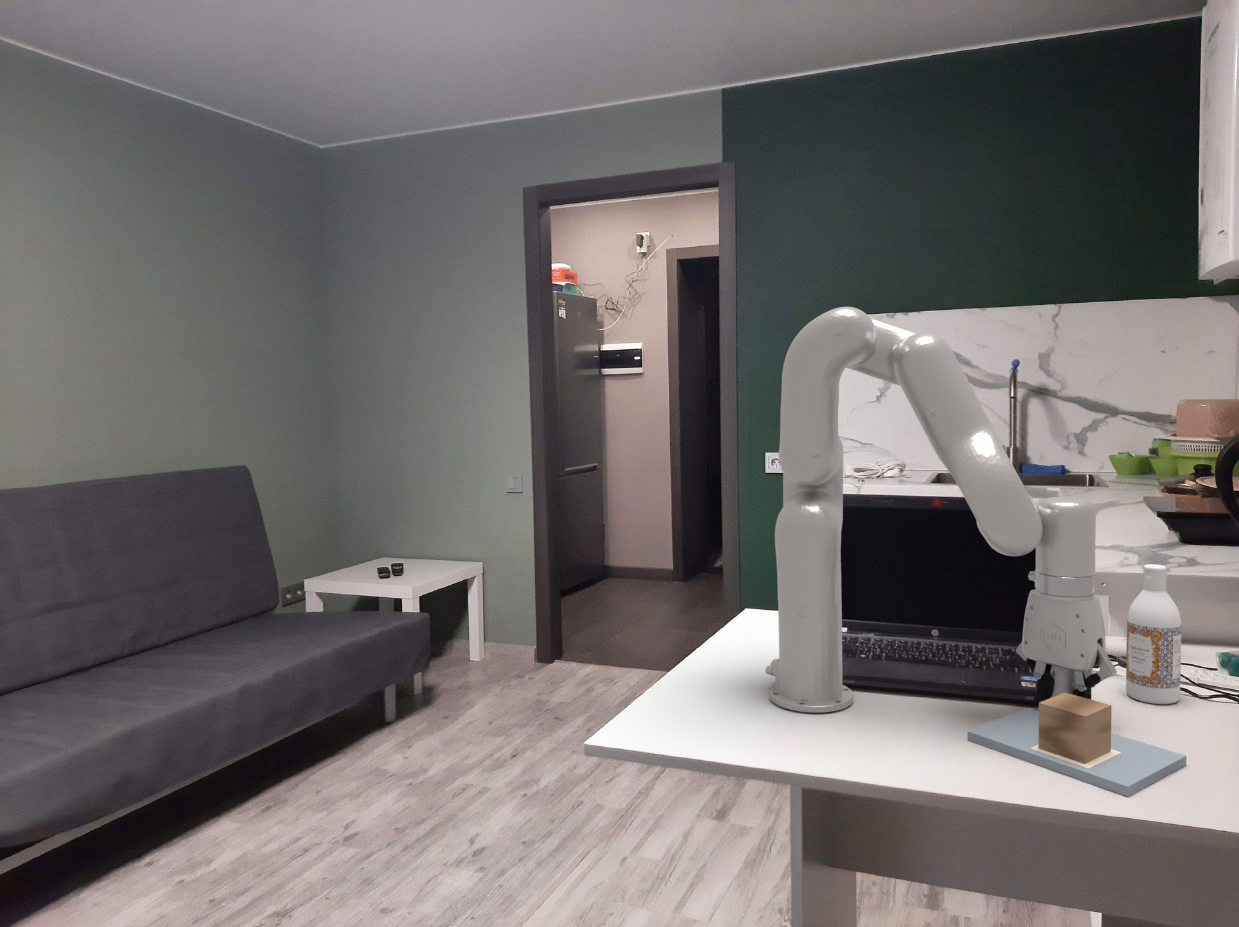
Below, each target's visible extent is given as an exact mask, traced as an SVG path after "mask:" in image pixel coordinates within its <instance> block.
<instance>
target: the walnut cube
mask: <svg viewBox="0 0 1239 927" xmlns="http://www.w3.org/2000/svg"><path fill="white" fill-rule="evenodd" d="M1038 711H1039V749H1042V750H1045V751H1048V752H1051V753H1054V754H1057V755H1059V756H1062V757H1065V758H1068V759H1071V760H1074V761H1077V762H1080V763H1083V764H1086V763H1088V762H1090V761H1093V760H1095V759H1097V758H1099V757H1101V756H1103V755H1105V754H1107V753H1109V752H1111V733H1112V704H1110V703H1109V704H1108V703H1104V702H1101V701H1097V700H1094V699H1091V700H1090V699H1087V698H1083V697H1079V696H1076V695H1072V694H1069V693H1062V694H1060V695H1057V696H1055V697H1052V698H1050V699H1047V700H1045V701H1042V702H1040V703H1039V702H1038Z"/></svg>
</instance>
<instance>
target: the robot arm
mask: <svg viewBox="0 0 1239 927" xmlns="http://www.w3.org/2000/svg"><path fill="white" fill-rule="evenodd" d="M784 358H785V359H784V362H783V367H782V373H781V392H780V393H781V396H780V397H781V398H780V402H781V403H780V424H779V425H780V427H779V430H780V431H779V432H780V434H779V447H778V448H779V449H778V462H779V467H780V469H781V471H782V474H783V475H782V487H783V488H782V490H783V491H782V492H783V493H782V496H783V497H782V500H783V501H782V502H783V503H782V508H781V510H780V511H779V513H778V516H777V519H776V522H775V528H774V544H775V545H774V546H775V547H774V548H775V558H776V559H775V560H776V573H777V574H776V575H777V577H776V578H777V579H776V580H777V601H778V602H777V605H778V608H777V610H778V612H777V613H778V656H779V657H778V659H777V658H774V659H773V660H772V661H771V662H770V665H768V666H766V667H765V674H767V675H770V676H772V677H775V678H774V680H775V682H774V685H773V686H771V688H770V689H769V698H770V700H771V702H772V703H774V704H775V705H777V706H778V707H780V708H783V709H785V710H790V711H793V712H800V713H810V714H811V713H814V714H818V713H822V714H823V713H831V712H832V713H833V712H837V711H840V710H844V709H846V708H848V707H849V706H850V705H852V704H853V702H854V692H853V691H852V690H851V688H849V687H848V686H846V685H843V621H842V617H843V616H842V615H843V611H842V608H843V606H842V602H843V601H842V562H841V560H842V559H841V555H842V554H841V548H842V547H841V546H842V545H841V544H842V530H843V520H844V518H843V517H844V513H843V512H844V510H843V509H844V503H843V502H844V448H843V447H844V446H843V443H842V440H841V438H840V436H839V407H840V406H839V405H840V398H839V397H840V380H841V377H842V374H843V373H844V371H845V370H846V369H849V370H852V371H855V372H858V373H861V374H864V375H867V376H870V377H871V378H872V377H873V378H875V379H879V380H881V381H884V382H887V383H889V384H893V385H897V386H900V387H901V389H902V391H903V393H904V395H905V398H906V399H907V400H908V403H909V405H910V406H911V408H912V411H913V413H914V414H915V416H916V419H917V420H918V422H919V424H920V425H921V427H922V430H923V432H924V433H925V435H926V437H927V440H928V441H929V443H930V445H931V447H932V449H933V451H934V452H935V454H936V456H937V457H938V460H939V461H941V463H942V464H943V466H944V467H945V468H946V469H947V471H948V472H949V473H950V475H951V476H952V478H953V479H954V481H955V483H956V485H957V487H958V488H959V490H960V492H961V494H962V495H963V497H964V499H965V502H966V504H967V505H968V507H969V509H970V511H971V512H972V514H973V516H974V518H975V520H976V525H977V528H978V530H979V532H980V534H981V536H983V538H984V540H985V541H986V542H987V544H988V545H989V547H991V549H993V550H995V552H997V553H999V554H1002V555H1003V556H1009V557H1020V556H1021V557H1022V556H1024V555H1027V554H1029V553H1031V552H1032V551H1033V550H1034V549H1035V569H1034V570H1033V571H1029V573H1028V574H1027V575H1028V576H1027V578H1028V580H1029V581H1033V582H1034V588H1035V589H1031V590H1030V591H1029V593H1028V596H1027V601H1026V602H1027V603H1026V606H1025V612H1024V618H1023V627H1022V640H1021V643H1019V645H1018V646H1017V647H1016V649H1015V652H1016V654H1017V655H1018V656H1019V657H1020V658H1021V659H1022V660H1023V661H1025V664H1027V666H1028V667H1029V669H1030V670H1031V671H1032V673H1033V677H1034V679H1036V681H1037V687H1036V688H1037V691H1036V694H1037V699H1038V704H1039V703H1040V702H1042V701H1045V700H1047V699H1050V698H1051V696H1052V694H1053V690H1054V684H1055V679H1054V678H1053V676H1054V675H1052V674H1053V671H1054V670H1053V669H1052V665H1054V666H1058V667H1062V668H1066V669H1070V670H1073V671H1074V673H1073V676H1074V678H1075V680H1074V681H1075V685H1076V688H1074V690H1073V695H1076V696H1079V697H1083V698H1087V699H1090V700H1092V688H1095V687H1096V686H1097V685H1098V684H1099V683H1101V682H1103V681H1105V680H1107V679H1109V678H1111V677H1114V676H1116V675H1117V674H1118V671H1117V669H1116V666H1114V664H1113V662H1112V661H1111V659H1110V657H1109V656H1108V654H1107V652H1106V649H1107V647H1106V646H1107V645H1106V644H1107V643H1106V629H1105V621H1104V615H1103V614H1104V613H1103V609H1102V603H1101V601H1100V597H1099V596H1096V532H1097V530H1096V529H1097V528H1096V526H1097V513H1096V506H1095V504H1094V503H1093V502H1092V501H1090V500H1089V499H1086V498H1083V497H1073V496H1053V497H1051V496H1050V497H1046V498H1039V497H1030V494H1029V493H1028V491H1027V489H1026V488H1025V485H1024V484H1023V482H1022V480H1021V478H1020V476H1019V475H1018V473H1017V470H1016V469H1015V467H1014V465H1013V464H1012V462H1011V460H1010V458H1009V456H1008V454H1007V453H1006V450H1005V449H1004V447H1003V445H1002V442H1001V441H1000V438H999V436H998V434H997V432H996V429H995V428H994V427H993V425H992V423H991V420H990V419H989V417H988V415H987V413H986V411H985V410H984V408H983V406H982V404H981V403H980V400H979V399H978V396H977V395H976V392H975V391H974V389H973V387H972V385H971V384H970V381H969V379H968V377H967V376H966V373H965V371H964V370H963V368H962V366H961V364H960V363H959V361H958V358H957V357H956V355H955V353H954V351H953V349H952V347H951V346H950V345H949V343H948V342H947V341H946V340H945V339H944V338H942V337H941V336H940V335H938V334H935V333H929V332H920V333H918V332H914V331H911V330H907V329H903V328H902V327H898V326H895V325H892V324H888V323H885V322H884V321H880V320H878V319H874V318H872V317H870V315H868V314H867V313H866V312H864V311H862V310H861V309H859V308H857V307H853V306H840V307H836V308H832V309H830V310H828V311H826V312H824V313H821V314H820V315H818V316H817V317H815V318H813V319H812V320H811V321H809V322H808V323H807V324H806V325H805V326H804V327H802V328H801V330H800V331H798V334H796V335H795V337H794V339H793V340H792V341H791V344H790V346H789V348H788V349H787V353H786V355H785V357H784ZM1094 667H1099V670H1098V671H1096V672H1094Z"/></svg>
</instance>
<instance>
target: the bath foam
mask: <svg viewBox="0 0 1239 927" xmlns="http://www.w3.org/2000/svg"><path fill="white" fill-rule="evenodd" d="M1167 573H1168V572H1167V567H1166V566H1165V565H1162V564H1156V563H1155V564H1152V563H1151V564H1150V563H1148V564H1144V565H1143V572H1142V574H1143V575H1142V578H1143V579H1142V582H1143V583H1142V584H1143V586H1142V587H1143V588H1142V590H1141V591H1140V592H1139V594H1138V595H1137V596H1136V597H1135V598H1134V600H1133V601H1132V603H1131V605H1130V606H1129V609H1128V613H1127V618H1126V661H1125V662H1126V664H1125V665H1126V666H1125V667H1126V668H1125V670H1126V671H1125V675H1126V676H1125V682H1126V684H1125V690H1126V693H1127V695H1128V696H1129V697H1130V698H1132V699H1134V700H1137V701H1139V702H1143V703H1147V704H1151V705H1152V704H1153V705H1171V704H1175V703H1177V702H1178V701H1180V698H1181V675H1182V674H1181V671H1182V670H1181V669H1182V666H1181V665H1182V628H1183V626H1182V617H1181V614H1180V611H1179V608H1178V606H1177V605H1176V603H1175V602H1174V600H1173V599H1172V597H1171V596H1170V594H1169V593H1168V592H1167Z"/></svg>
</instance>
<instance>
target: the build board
mask: <svg viewBox="0 0 1239 927" xmlns="http://www.w3.org/2000/svg"><path fill="white" fill-rule="evenodd" d="M967 741H970V742H972V743H974V744H975V743H976V744H978V745H981V746H984V747H987V748H989V749H992V750H994V751H998V752H1001V753H1004V754H1006V755H1009V756H1012V757H1015V758H1017V759H1020V760H1023V761H1026V762H1029V763H1031V764H1034V765H1037V766H1040V767H1043V768H1045V769H1048V770H1051V771H1054V772H1057V773H1060V774H1063V775H1065V776H1068V777H1071V778H1074V779H1077V780H1080V781H1082V782H1085V783H1088V784H1090V785H1093V786H1095V787H1096V786H1097V787H1099V788H1102V789H1104V790H1108V791H1110V792H1114V793H1116V794H1119V795H1121V796H1124V797H1128V798H1129V797H1130V796H1132V795H1134V794H1136V793H1137V792H1139V791H1141V790H1143V789H1145V788H1147V787H1148V786H1151V785H1152V784H1154V783H1156V782H1158V781H1159V780H1162V779H1163V778H1165V777H1167V776H1169V775H1171V774H1173V773H1174V772H1176V771H1178V770H1179V769H1181V768H1183V767H1185V766H1187V755H1186V754H1182V753H1179V752H1175V751H1172V750H1170V749H1169V750H1168V749H1165V748H1162V747H1159V746H1155V745H1153V744H1149V743H1145V742H1142V741H1138V740H1135V739H1132V738H1129V737H1126V736H1124V735H1123V736H1122V735H1119V734H1116V733H1113V732H1111V752H1109V753H1107V754H1105V755H1103V756H1101V757H1099V758H1097V759H1095V760H1093V761H1090V762H1088V763H1086V764H1083V763H1080V762H1077V761H1074V760H1071V759H1068V758H1065V757H1062V756H1059V755H1057V754H1054V753H1051V752H1048V751H1045V750H1042V749H1039V710H1036V709H1033V708H1030V707H1026V708H1025V709H1021V710H1018V711H1016V712H1014V713H1011V714H1008V715H1006V716H1004V717H1000V718H998V719H996V720H993V721H991V722H988V723H985V724H983V725H981V726H980V725H979V726H977V727H975V728H973V729H970V730H967Z"/></svg>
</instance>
